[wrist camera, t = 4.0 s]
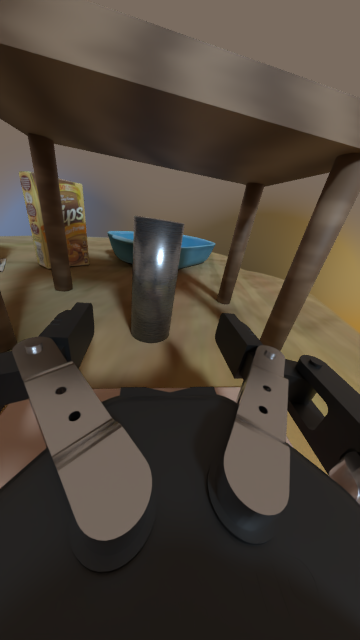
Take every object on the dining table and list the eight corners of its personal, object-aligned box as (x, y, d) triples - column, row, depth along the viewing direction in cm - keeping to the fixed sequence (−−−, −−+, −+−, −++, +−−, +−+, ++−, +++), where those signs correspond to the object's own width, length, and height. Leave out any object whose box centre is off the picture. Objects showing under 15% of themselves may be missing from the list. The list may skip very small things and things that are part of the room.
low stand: (-35, 356, 15) (-279, -131, 6) (57, 284, 31) (28, 115, 22) (285, 361, 21) (415, 117, 12) (227, 298, 37) (264, 171, 27)
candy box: (48, 270, 36) (29, 171, 29) (37, 264, 38) (17, 170, 31) (90, 265, 43) (83, 184, 36) (78, 260, 45) (70, 182, 38)
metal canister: (129, 342, 20) (132, 216, 15) (132, 321, 24) (135, 215, 19) (170, 343, 21) (188, 225, 16) (167, 323, 25) (180, 222, 19)
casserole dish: (156, 280, 41) (159, 246, 38) (90, 257, 50) (88, 227, 47) (219, 263, 70) (224, 243, 66) (170, 250, 79) (172, 232, 76)
